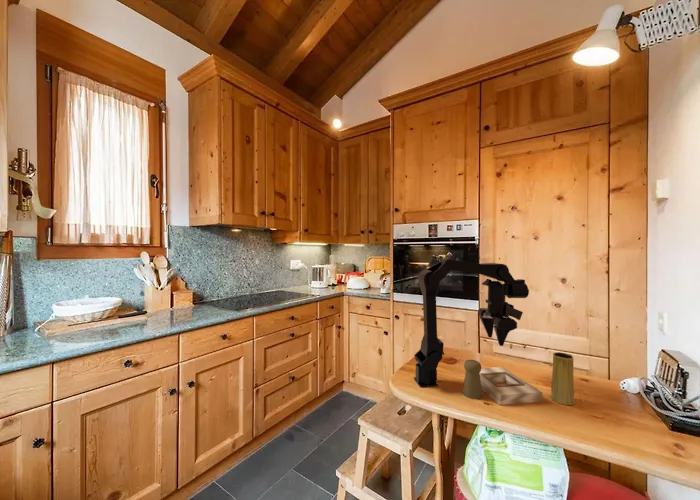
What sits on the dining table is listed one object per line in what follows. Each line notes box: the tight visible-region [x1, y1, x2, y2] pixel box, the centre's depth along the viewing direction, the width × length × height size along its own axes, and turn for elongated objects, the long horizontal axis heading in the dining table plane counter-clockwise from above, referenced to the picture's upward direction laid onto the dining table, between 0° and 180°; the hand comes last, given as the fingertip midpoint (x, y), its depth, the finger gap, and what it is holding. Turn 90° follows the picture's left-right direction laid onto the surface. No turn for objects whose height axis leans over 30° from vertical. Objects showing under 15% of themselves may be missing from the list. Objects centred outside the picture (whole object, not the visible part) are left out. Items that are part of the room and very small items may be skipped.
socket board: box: [479, 366, 543, 406], centre depth 100 cm, size 14×19×3 cm
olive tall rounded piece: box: [462, 359, 484, 400], centre depth 96 cm, size 6×6×11 cm
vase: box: [550, 351, 576, 406], centre depth 93 cm, size 6×6×14 cm
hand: (495, 341), depth 106 cm, fingers open, 9 cm apart
